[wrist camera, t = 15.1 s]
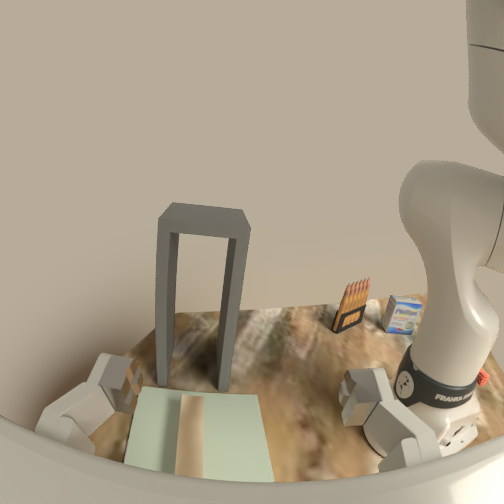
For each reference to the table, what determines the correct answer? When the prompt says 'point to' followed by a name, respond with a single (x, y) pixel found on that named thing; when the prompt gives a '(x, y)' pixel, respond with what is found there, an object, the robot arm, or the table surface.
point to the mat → (214, 435)
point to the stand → (169, 227)
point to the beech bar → (190, 437)
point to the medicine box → (401, 315)
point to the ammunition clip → (351, 306)
